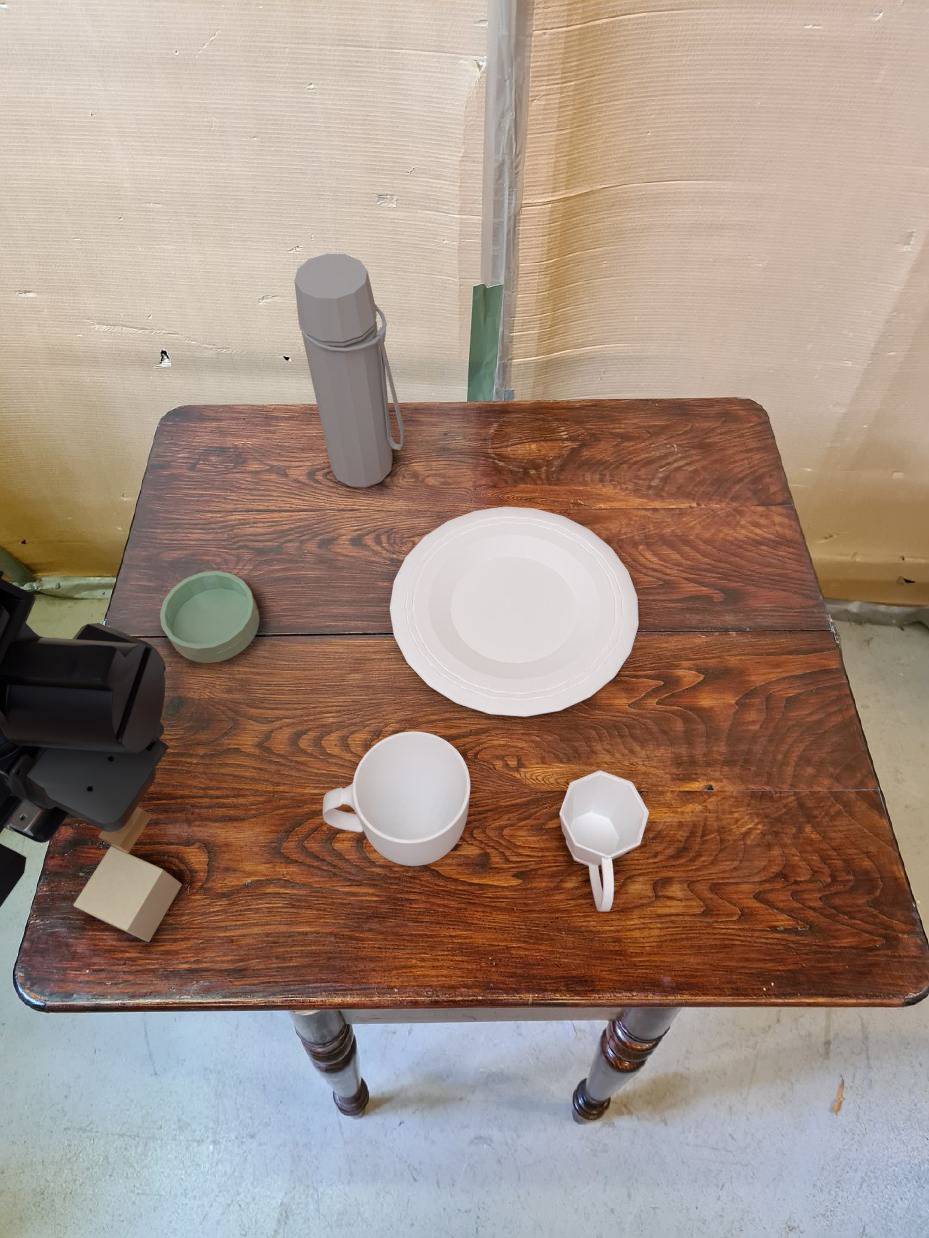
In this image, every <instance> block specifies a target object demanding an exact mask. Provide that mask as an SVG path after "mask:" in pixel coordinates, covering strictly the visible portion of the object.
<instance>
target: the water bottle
mask: <svg viewBox="0 0 929 1238" xmlns="http://www.w3.org/2000/svg"><path fill="white" fill-rule="evenodd" d="M370 280H371V279H370V276H369V272H368V269H367V268H366V266H365V265H364V264H363V262H362V261H361V260H360V259H358V258H355V257H353V256H351V255H348V254H344V253H324V254H321V255H317V256H314V257H311V258H309V259H307V260H305V262H304V263H302V264H301V265H300V266H299V267H298V268H296V273H295V277H294V289H295V301H296V309H297V319H298V327H299V330H300V331H301V336H302V341H303V345H304V351H305V355H306V358H307V364H308V369H309V374H310V378H311V382H312V387H313V392H314V396H315V402H316V405H317V411H318V415H319V420H320V424H321V429H322V434H323V438H324V443H325V448H326V452H327V458H328V463H329V466H330V470H331V472H332V473H333V475H334V477H335V478H336V480H337V481H339V482H341V483H343V484H345V485H347V486H348V487H350V488H370V487H372V486H374V485H377V484H380V483H381V482H382V481H383V480H384V479H385V478H386V477H387V476H388V475H389V474H390V473H391V472H392V464H393V451H392V449H393V450H399V451H401V450H402V447H403V445H404V442H405V426H404V422H403V418H402V414H401V409H400V406H399V405H400V404H399V400H398V396H397V393H396V388H395V383H394V379H393V375H392V371H391V367H390V363H389V359H388V354H387V350H386V347H385V346H386V345H385V342H386V335H387V325H388V324H387V320H386V317H385V314H384V312H383V311H382V310H381V309H380V307H379V306H378V305H377V304H376V301H375V298H374V293H373V290H372V285H371V281H370ZM377 313H378V314H377ZM378 315H379V316H380V319H381V323H382V324H381V326H380V327H379V328H378V321H377V316H378ZM387 380H388V385H389V389H390V393H391V397H392V403H393V407H394V411H395V416H396V420H397V423H398V428H399V432H400V443H395V441H394V439H393V436H392V432H391V420H390V409H389V408H390V407H389V397H388V385H387Z"/></svg>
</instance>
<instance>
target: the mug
mask: <svg viewBox="0 0 929 1238" xmlns="http://www.w3.org/2000/svg"><path fill="white" fill-rule="evenodd" d="M470 795H471V776H470V773H469V769H468V766H467V764H466V762H465V759H464V758H463V756H462V755H461V754H460V752H459V751H458V750H457V749H456V748H455V747H454V746H453V745H452V744H451V743H450V742H448V741H447V740H445V739H444V738H442V737H440V736H438V735H436V734H433V733H429V732H424V731H416V730H415V731H412V730H411V731H404V732H403V731H402V732H399V733H394V734H391V735H389V736H387V737H385V738H383V739H381V740H380V741H378V742H377V743H375V744H374V745H373V746H372V747H370V748H369V750H368V751H367V752H366V753H365V754H364V756H363V757H362V758H361V760H360V762H359V763H358V765H357V767H356V769H355V772H354V775H353V781H352V783H350V785H348V786H347V787H341V786H340V787H337V788H334V789H331V790H329V791H327V792H326V793H325V794H324V796H323V800H322V820H323V821H324V822H325V823H326V824H328V825H330V826H331V827H333V828H336V829H339V830H344V831H348V832H355V833H364V835H365V837H366V839H367V840H368V842H369V844H370V845H371V846H372V847H373V849H374V850H375V851H377V853H378V854H379V855H381V856H382V857H383V858H385V859H387V860H389V862H393V863H395V864H398V865H403V866H407V867H419V866H425V865H428V864H432V863H434V862H437V861H438V860H440V859H442V858H443V857H445V856H446V855H447V854H449V853H450V852H451V850H453V848H454V847H455V846H456V845H457V844H458V842H459V841H460V839H461V836H462V835H463V833H464V830H465V828H466V823H467V820H468V814H469V807H470ZM342 805H346V806H348V807H351V809H353V811H354V812H355V813H354V812H353V813H351V812H348V811H343V810H339V809H336V808H339V807H341V806H342Z"/></svg>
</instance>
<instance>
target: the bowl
mask: <svg viewBox="0 0 929 1238" xmlns="http://www.w3.org/2000/svg"><path fill="white" fill-rule="evenodd" d="M160 608H161V609H160V611H159V619H160V625H161V629H162V630H163V632H164V633H165V635H166V637H167V638H168V640H169V641H170V643H171V644H172V646H173V647H174V649H175V650H176V651H177V653H179V654H180V655H181V656H183V658H185V659H187V660H190V661H193V662H196V663H202V664H213V663H214V664H215V663H219V662H223V661H226V660H229V659H231V658H233V657H235V656H237V655H238V654H240V653H241V652H243V651H244V650H245V649H246V648H247V647H248V646H249V645H250V644H251V643H252V641H253V640H254V639H255V638H256V637H255V636H256V635H257V633H258V630H259V627H260V611H259V608H258V605H257V601H256V600H255V596H254V595H253V592H252V590H251V588H250V587H249V586H248V585H247V583H246V582H245V580H243V579H242V578H241V577H238V576H237V575H235V574H233V573H231V572H225V571H220V570H213V571H212V570H211V571H209V570H208V571H202V572H201V571H200V572H197V573H195V574H193V575H190V576H188V577H185V578H184V579H183V580H181V581H180V582H178V583H177V584H176V585H175V586H173V587H172V588H171V589H170V591H169V592H168V593H167V595H166V596H165V598H164V599H163V602H162V605H161V607H160Z"/></svg>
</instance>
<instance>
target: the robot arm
mask: <svg viewBox="0 0 929 1238" xmlns="http://www.w3.org/2000/svg"><path fill="white" fill-rule="evenodd" d="M4 574H5V572H4V571H2V570H0V835H1V833H2V832H3V831H4V830H8V831H9V832H12V833H17V834H18V835H21V836H23V837H25V838H27V839H28V840H31V841H33V842H35V843H39V844H44V843H47V842H50V841H52V839H53V837H55V835H56V833H57V832H58V830H59V829H60V828H61V826H62V825H63V823H64V822H65V820H76V819H77V820H78V819H79V820H82V821H84V822H85V823H88V824H89V825H92V826H93V827H95V828H97V829H99V830H100V831H102V830H103V831H105V832H115V831H118V830H120V829H122V828H123V827H124V826H125V825H126V824H127V822H128V821H129V819H130V818H131V816H132V814H133V812H134V811H135V809H136V808H137V807H139V805H140V803H141V802H142V800H143V799H144V797H145V795H146V794H147V793H148V791H149V790H150V788H151V787H152V786H153V784H154V782H155V781H156V777H157V767H158V765H159V763H160V762H161V761H162V759H163V757H164V756H165V754H166V753H167V751H168V750H169V748H170V745H168V744H167V743H165V742H164V741H162V740H161V738H162V736H163V735H164V733H165V727H164V726H165V725H164V724H163V723H162V721H161V720H162V715H163V711H164V706H165V699H166V676H165V675H166V674H165V672H166V670H167V666H166V663H165V659H164V658H163V657H162V655H161V654H160V652H159V651H158V649H157V648H156V647H155V646H153V645H151V644H150V643H149V642H147V641H145V640H143V639H140V638H138V637H135V636H133V635H130V634H128V633H125V632H123V631H120V630H118V629H116V628H113V627H110V626H108V625H105V624H102V623H100V622H94V623H93V622H92V623H86V624H84V625H82V626H81V627H80V628H79V629H78V631H77V632H76V634H75V635H74V636H73V637H72V638H63V637H61V638H60V637H45V636H42V635H39V634H38V633H36V632H35V631H34V630H33V629H32V628H31V626H30V625H28V623H27V621H28V619H29V616H30V614H31V612H32V610H33V607H34V605H35V602H36V600H37V596H36V595H34V594H33V593H31V592H30V591H27V590H25V589H24V588H21V587H20V586H17V585H15V584H13V583H11V582H9V581H7V580H5V579H3V577H4ZM27 859H28V858H27V856H25V855H23V854H21V853H20V852H18V851H16V850H15V849H12V848H10V847H8V846H7V845H4V844H2V843H0V908H1V907H2V906H3V904H4V903H5V902H6V901H7V899H8V897H9V896H10V894H12V892H13V890H14V888H15V887H16V886H17V884H18V883H19V882H20V880H21V878H23V875H24V874H25V872H26V871H25V870H26V864H27Z"/></svg>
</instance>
